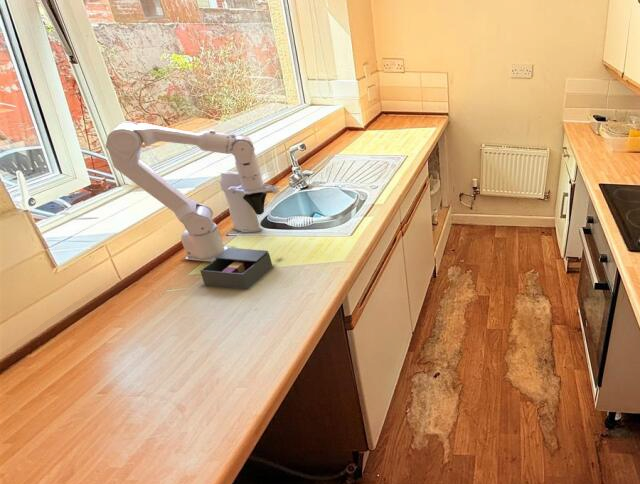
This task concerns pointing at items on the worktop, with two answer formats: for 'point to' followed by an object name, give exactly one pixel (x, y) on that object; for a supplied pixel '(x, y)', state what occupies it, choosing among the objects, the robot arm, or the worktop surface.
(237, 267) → the chocolate
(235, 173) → the tall pale column
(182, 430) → the worktop surface
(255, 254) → the flap
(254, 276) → the carton
